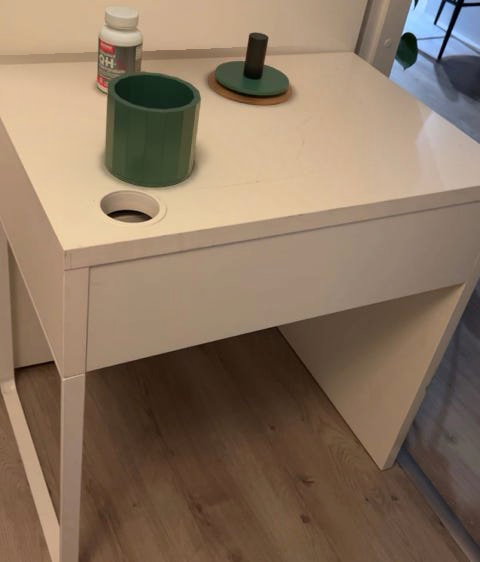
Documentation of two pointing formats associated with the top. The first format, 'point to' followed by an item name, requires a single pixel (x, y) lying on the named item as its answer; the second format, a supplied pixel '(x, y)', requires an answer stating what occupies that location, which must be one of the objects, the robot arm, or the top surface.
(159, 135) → the tin
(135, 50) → the pill bottle
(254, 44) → the tin lid
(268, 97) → the cork mat
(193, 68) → the top surface
